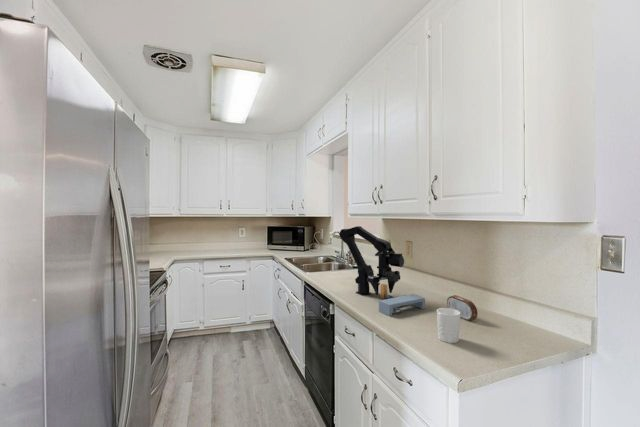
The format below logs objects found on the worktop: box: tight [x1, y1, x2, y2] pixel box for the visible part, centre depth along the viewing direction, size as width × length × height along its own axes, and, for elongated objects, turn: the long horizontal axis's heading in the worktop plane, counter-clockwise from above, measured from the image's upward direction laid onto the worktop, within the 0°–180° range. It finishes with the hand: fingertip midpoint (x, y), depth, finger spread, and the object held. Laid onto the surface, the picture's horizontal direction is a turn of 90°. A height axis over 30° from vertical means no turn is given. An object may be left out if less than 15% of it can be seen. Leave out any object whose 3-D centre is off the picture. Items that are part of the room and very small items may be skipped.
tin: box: [446, 295, 478, 321], centre depth 126 cm, size 15×3×8 cm, turn 18°
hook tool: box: [380, 283, 405, 307], centre depth 148 cm, size 16×7×7 cm, turn 29°
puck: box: [392, 307, 401, 314], centre depth 134 cm, size 4×4×2 cm
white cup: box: [436, 307, 461, 344], centre depth 104 cm, size 8×8×10 cm
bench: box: [378, 293, 426, 317], centre depth 136 cm, size 7×22×5 cm, turn 119°
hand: (383, 293), depth 155 cm, fingers open, 9 cm apart
